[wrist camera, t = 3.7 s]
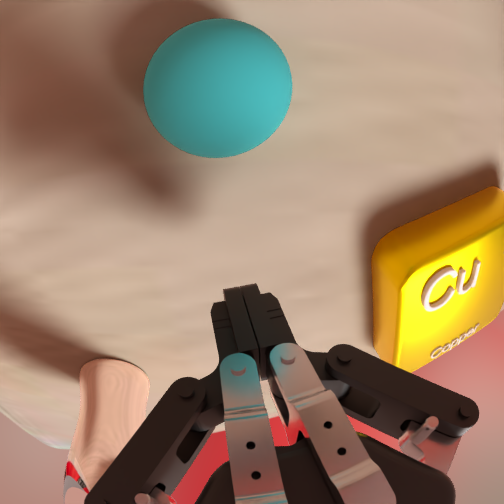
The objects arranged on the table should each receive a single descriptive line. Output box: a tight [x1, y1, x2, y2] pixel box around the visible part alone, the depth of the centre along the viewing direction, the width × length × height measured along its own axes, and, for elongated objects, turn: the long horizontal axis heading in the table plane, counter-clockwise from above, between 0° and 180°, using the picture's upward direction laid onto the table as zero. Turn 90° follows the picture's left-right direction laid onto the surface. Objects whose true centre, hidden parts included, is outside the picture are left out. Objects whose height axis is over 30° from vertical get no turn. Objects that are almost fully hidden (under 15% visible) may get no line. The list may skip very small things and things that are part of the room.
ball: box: [143, 19, 292, 158], centre depth 11 cm, size 6×6×6 cm
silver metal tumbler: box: [63, 358, 150, 504], centre depth 17 cm, size 7×7×15 cm
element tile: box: [371, 186, 504, 373], centre depth 23 cm, size 15×15×5 cm
